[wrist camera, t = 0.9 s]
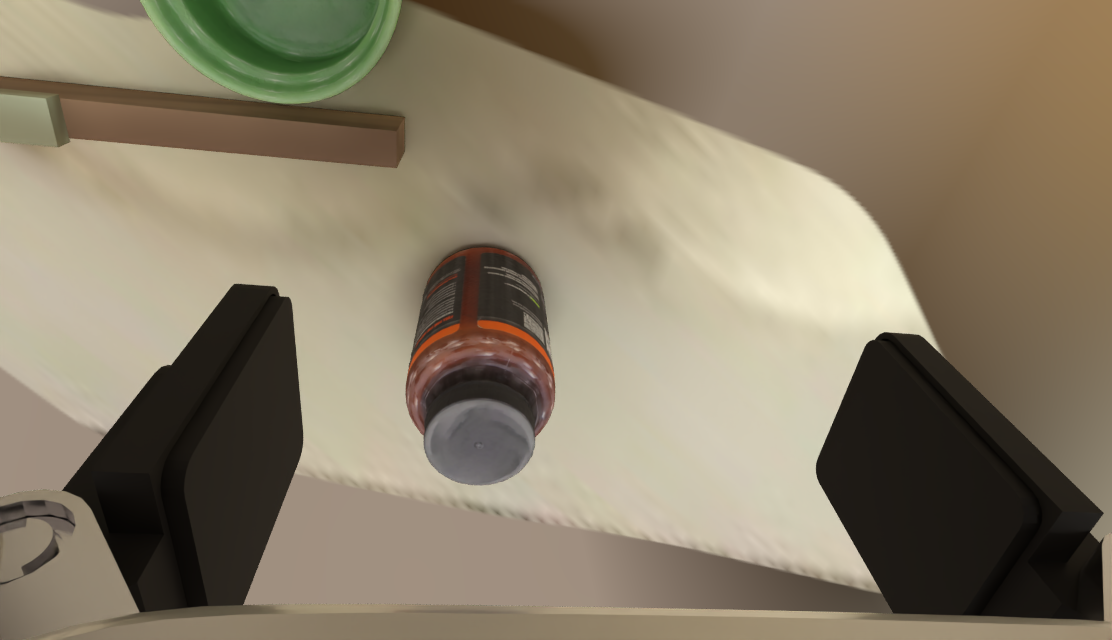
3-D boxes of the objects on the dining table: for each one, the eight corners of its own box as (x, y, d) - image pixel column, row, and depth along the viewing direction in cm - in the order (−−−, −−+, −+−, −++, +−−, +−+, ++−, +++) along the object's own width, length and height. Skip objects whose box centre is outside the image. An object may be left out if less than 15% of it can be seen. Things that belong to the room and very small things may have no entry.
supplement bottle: (412, 331, 34) (375, 489, 24) (441, 227, 31) (412, 357, 21) (524, 359, 35) (531, 520, 25) (560, 261, 33) (585, 398, 23)
